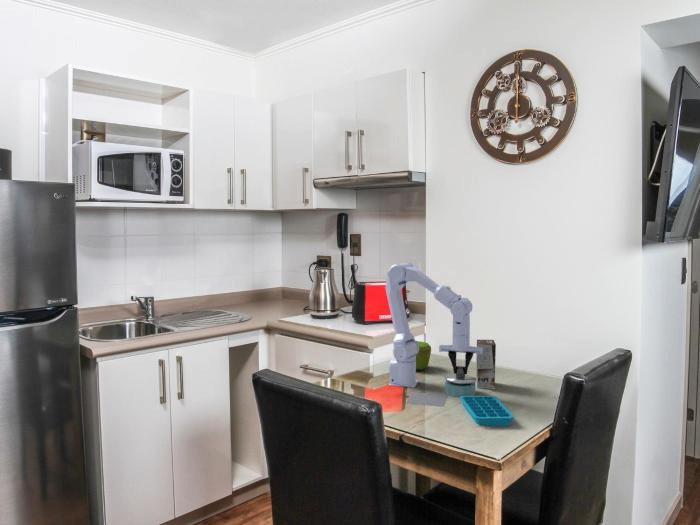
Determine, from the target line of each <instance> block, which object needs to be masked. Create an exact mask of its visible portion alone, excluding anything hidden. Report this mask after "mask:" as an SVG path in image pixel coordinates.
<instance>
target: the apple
mask: <svg viewBox="0 0 700 525" xmlns="http://www.w3.org/2000/svg"><path fill="white" fill-rule="evenodd" d="M415 341H416V342H417V344H418V346H419V352H418V354H417V355H416V371H423V370H425V369H426V368H427V367H428V365H429V363H430V359H431V354H432V346H431V345H430V344H429V343H428V342H425V341H419V340H418V341H417V340H415Z"/></svg>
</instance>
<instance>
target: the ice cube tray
mask: <svg viewBox="0 0 700 525" xmlns="http://www.w3.org/2000/svg"><path fill="white" fill-rule="evenodd" d="M459 399H460V401H461V402H462V406H463V408H464V409H465V410H466V412H467V413H468V414H469V416H470V417H471V418H472V420H473V421H474V423H475V425H476V424H477V425H483V426H488V427H498V426H499V427H500V426H501V427H505V426H506V427H509V426H511V420H512V419H514V418H515V415H514V414H513V413H511V412H510V410H508V408H507V407H506V406H505V405H504V404H503V403H502V402H501V401H500V400H499V398H497V397H496V396H494V395H474V396H461V397H459Z"/></svg>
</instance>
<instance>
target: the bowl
mask: <svg viewBox="0 0 700 525" xmlns="http://www.w3.org/2000/svg"><path fill="white" fill-rule="evenodd" d="M444 386H445V387H444V388H445V390H444V393H445V395H447V396H451V397H453V398H454V397H455V398H460V397H461V396H476V382H474V383H470V384H458V383H452V382H448V381H446V380H445V385H444Z"/></svg>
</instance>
